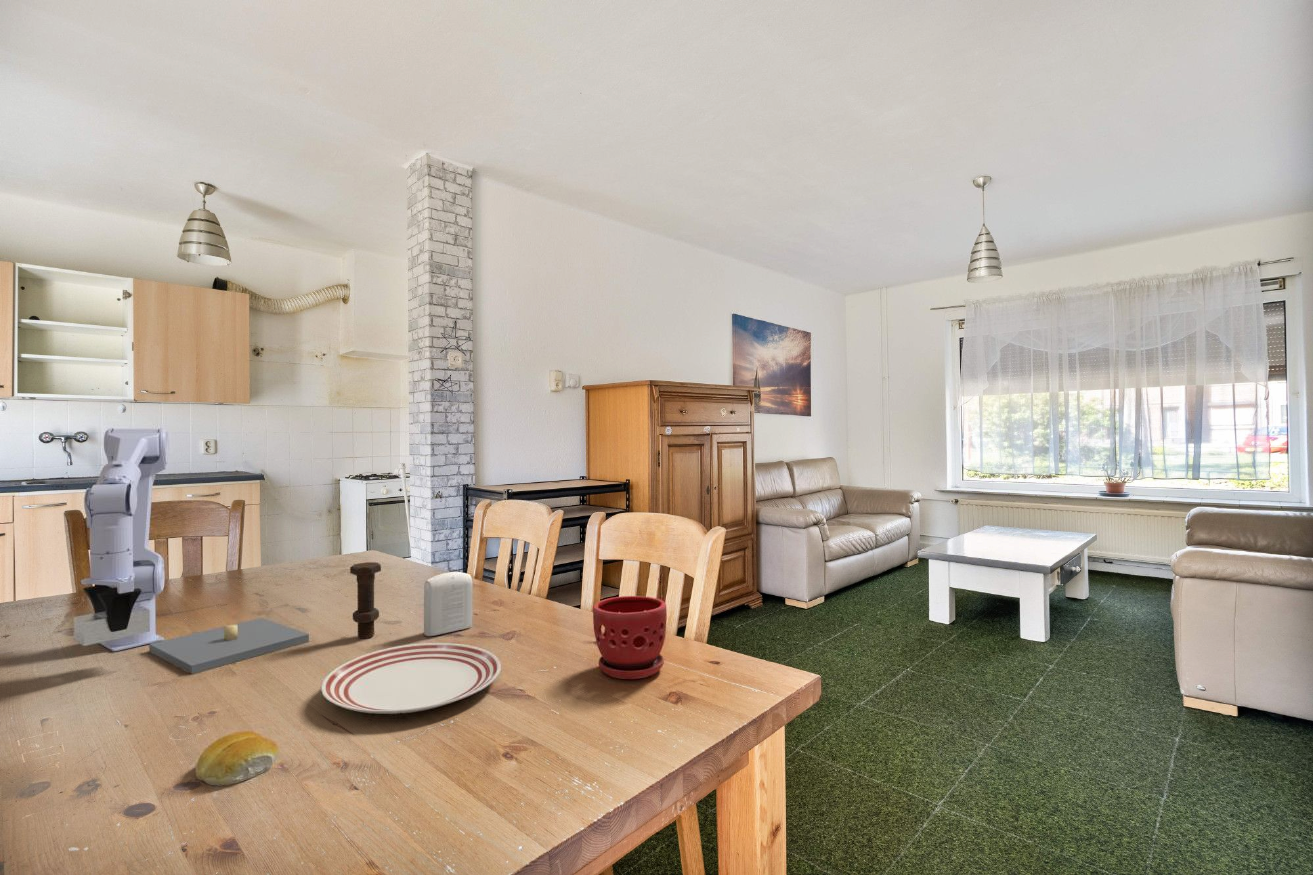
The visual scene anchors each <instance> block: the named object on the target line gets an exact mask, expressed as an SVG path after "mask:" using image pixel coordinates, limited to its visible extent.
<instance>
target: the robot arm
mask: <svg viewBox="0 0 1313 875" xmlns="http://www.w3.org/2000/svg"><path fill="white" fill-rule="evenodd" d="M169 442H170V441H169V432H168V431H167V430H166V429H165V428H164V427H160V428H114V427H110V428H108V429H107V430H106V431H105V432H104V437H103V450H104V454H105V455H106V459H107V463H106V464H105V465H104V466H103V467H102V469H101V471H100V473H99V476H98V478H97V481H96V483H95V484H93V485H92V486H91V487H87V488H86V489H85V492H84V497H83V506H84V512H85V513H84V514H85V515H86V516H85V517H86V526H87V528H89V567H90V569H89V572H90V574H89V575H90V577H88V578H83V579H80V584H81V585H83V586H84V585H85V586H87V585H93V586H87V587H84V588H83V592H84V593H85V594H86V596H87V597H88V599H89V601H90V602H91V605H92V608H93V611H94V613H99V612H104V611H106V615H107V621H108V626H109V629H110V631H111V632H116V631H120V630H125V629H127V626H128V623H129V620H130V616H131V612H132V609H133V606H136V605H140V606H142V607H144V608H147V609H149V610H150V632H145V633H141V634H136V635H132V636H127V637H123V638H118V639H114V640H109V641H105V642H100V643H99V644H100V645H101V646H103V647H105V648H106V649H108V650H110V651H112V652H118V651H123V650H126V649H132V648H135V647H140V646H143V645H144V646H146V645H149V644H151V643H156V642H160V641H164V640H165V638H164V637H163V636H161V635H159V634H156V595H160V594H161V593H162V592H163V591H164V588H165V579H166V577H165V574H166V572H165V561H164V558H163V557H162V555H161V554H160V553H158V552H156V551H154V550H152V549H149V539H150V529H151V528H150V527H151V526H150V525H151V511H152V496H153V486H154V482H155V478H156V475H157V473H160V472H162V471H165V470H166V468H167V465H168V459H169Z"/></svg>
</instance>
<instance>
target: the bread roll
mask: <svg viewBox="0 0 1313 875" xmlns="http://www.w3.org/2000/svg"><path fill="white" fill-rule="evenodd" d="M279 750H280V749H279V746H278V744H277V743H276V742H275V741H274V740H271V739H268V738H267V737H264V736H262V735H261V734H259V733H257V732H254V731H250V730H246V731H245V730H244V731H243V730H242V731H237V732H233V733H229V734H227V735H224V736H221V737H220V738H218V739H216V740H214V741H213V742H212V743H211V744H209V745H208V746H207V747H206V748H205V749H204V750H203V752H202V753H201V754H200V756H199V758H198V760H197V762H196V764H195V768H194V769H195V776H196V778H197V779H199V781H203V782H205V783H206V784H207V785H211V786H218V787H220V786H221V787H222V786H228V785H229V786H231V785H236V784H238V783H242V782H245V781H247V780H249V779H252V778H255V777H258V776H259V775H261V774H263V773H265V772H267V771H268V770H269V769H271V767H272V766H273V765H274V763H275V762H276V759H278V756H279V752H280V751H279ZM244 780H245V781H244Z"/></svg>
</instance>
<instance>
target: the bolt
mask: <svg viewBox="0 0 1313 875" xmlns="http://www.w3.org/2000/svg"><path fill="white" fill-rule="evenodd" d="M349 572H350V574H352V575H355V576H356V582H357V584H356V586H357V587H356V588H357V596H356V597H357V598H356V599H357V600H356V601H357V608H356V609H357V610H355V611H354V612H353V613H352V620H353V622H355V623H357V637H358V638H359V639H370V638H372V637H374V635H375V621H376V620H378V618H380V611H379V609H378V608H376V607H375V578H376V575H375V574H376V573H379V572H382V565H381V564H380V563H379V562H372V561H370V562H369V561H367V562H359V563H354V564H352V565H351V566H350V567H349Z"/></svg>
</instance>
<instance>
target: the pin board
mask: <svg viewBox="0 0 1313 875" xmlns="http://www.w3.org/2000/svg"><path fill="white" fill-rule="evenodd" d="M308 641H309V642H310V633H307V632H303V631H301V630H298V629H295V628H292V627H290V626H288V625H284V624H281V623H278V622H277V621H276V622H275V621H272V620H270V619H267V618H264V617H260V618H255V619H250V620H246V621H242V622H238V623H233V624H228V625H225V626H221V627H216V628H212V629H207V630H204V631H199V632H195V633H190V634H187V635H182V636H177V637H173V638H168V639H164V640H162V641H158V642H153V643H149V644H148V649H149V650H148V652H149V653H151V654H153V655H154V656H157V657H158V658H160V659H162V660H164V661H166V662H168V663H170V664H171V665H173V666H175V667H177V668H179V669H181V670H183V671H185V672H187V673H189V674H190V675H194V674H198V673H201V672H205V671H209V670H212V669H215V668H218V667H222V666H226V665H230V664H234V663H237V662H241V661H245V660H247V659H251V658H255V657H259V656H262V655H266V654H269V653H273V652H276V651H280V650H285V649H287V648H291V647H294V646H297V645H302V644H305V643H309V642H308Z"/></svg>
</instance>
